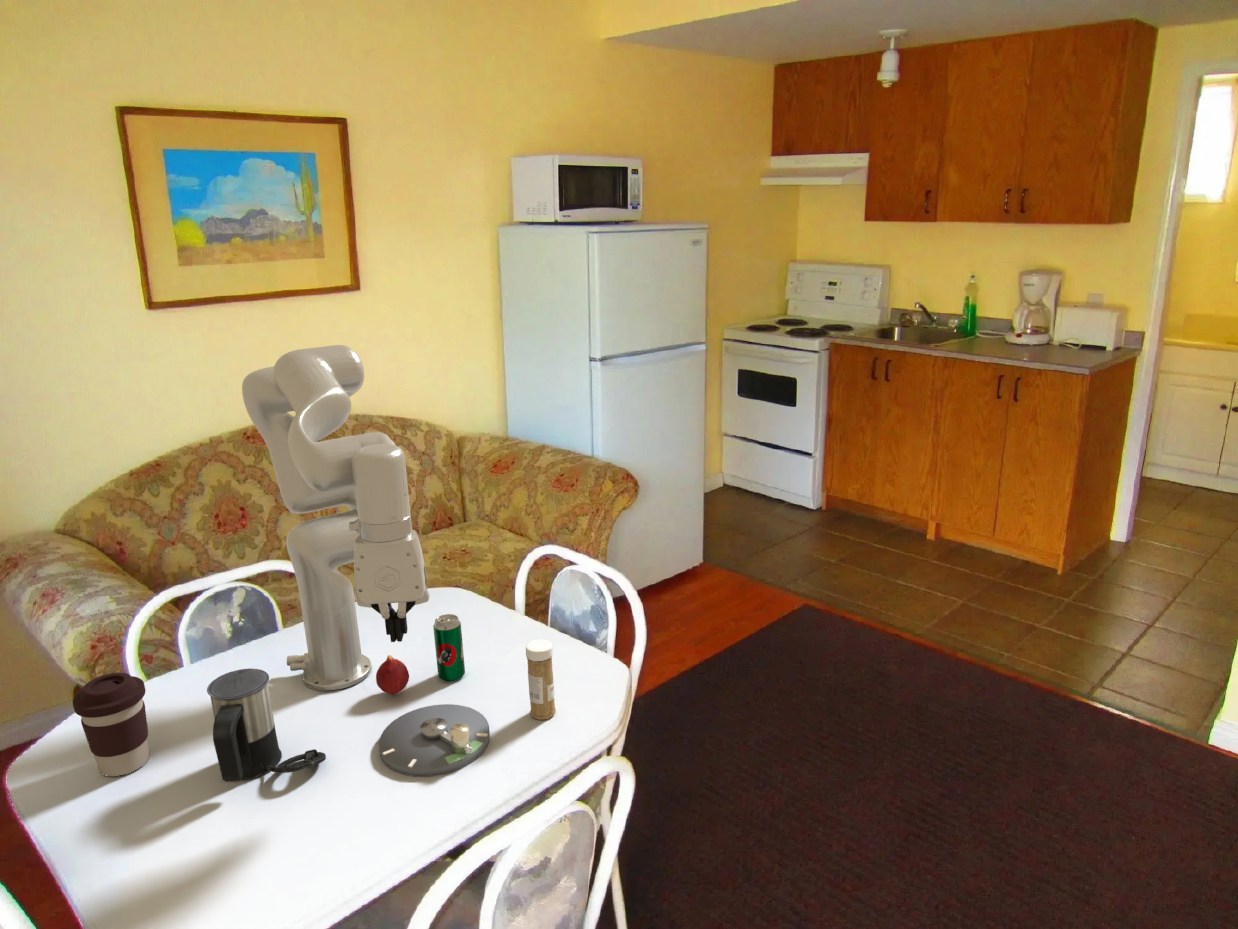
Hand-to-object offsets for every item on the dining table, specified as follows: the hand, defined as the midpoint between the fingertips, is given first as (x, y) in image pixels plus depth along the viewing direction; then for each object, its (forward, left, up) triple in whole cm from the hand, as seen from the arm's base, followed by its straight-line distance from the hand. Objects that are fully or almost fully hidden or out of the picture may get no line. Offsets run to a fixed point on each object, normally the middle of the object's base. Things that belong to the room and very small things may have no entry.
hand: (397, 637), depth 134 cm
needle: (+6, +1, -20) cm, 21 cm away
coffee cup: (-46, +5, -22) cm, 52 cm away
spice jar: (+22, +10, -22) cm, 32 cm away
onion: (-5, +20, -22) cm, 30 cm away
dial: (+4, +4, -22) cm, 22 cm away
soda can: (+5, +25, -22) cm, 34 cm away
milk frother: (-22, +1, -22) cm, 31 cm away
